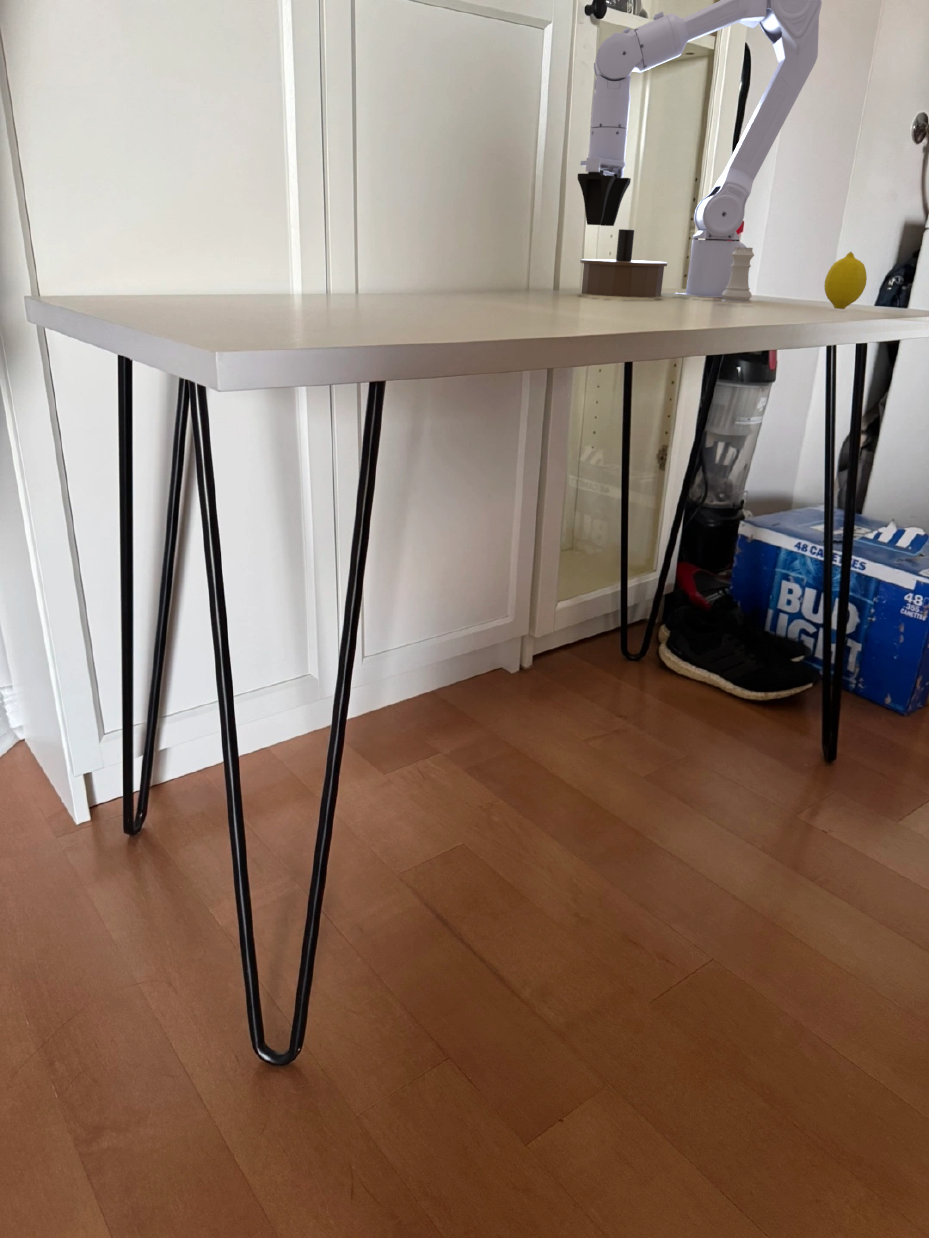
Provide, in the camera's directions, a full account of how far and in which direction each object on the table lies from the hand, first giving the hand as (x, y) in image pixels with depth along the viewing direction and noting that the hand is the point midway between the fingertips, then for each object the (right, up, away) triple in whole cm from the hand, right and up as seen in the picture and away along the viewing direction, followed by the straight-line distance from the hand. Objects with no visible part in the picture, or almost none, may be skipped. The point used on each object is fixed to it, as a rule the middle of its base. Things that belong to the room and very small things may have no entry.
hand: (600, 225), depth 142 cm
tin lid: (+3, -8, -3) cm, 9 cm away
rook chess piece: (+19, -17, -10) cm, 27 cm away
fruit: (+33, -18, -13) cm, 40 cm away
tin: (+3, -12, -1) cm, 13 cm away
